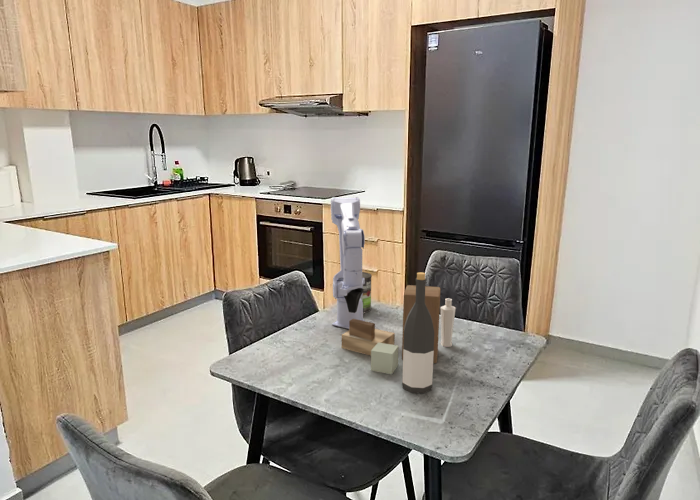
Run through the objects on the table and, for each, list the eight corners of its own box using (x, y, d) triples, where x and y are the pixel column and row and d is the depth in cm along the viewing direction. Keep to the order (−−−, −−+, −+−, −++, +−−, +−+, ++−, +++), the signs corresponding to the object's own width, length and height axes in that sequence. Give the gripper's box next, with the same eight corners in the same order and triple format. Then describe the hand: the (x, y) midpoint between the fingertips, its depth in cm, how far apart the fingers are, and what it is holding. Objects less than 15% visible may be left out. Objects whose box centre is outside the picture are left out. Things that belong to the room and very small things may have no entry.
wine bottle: (426, 396, 119) (431, 279, 113) (396, 389, 123) (399, 274, 117) (437, 383, 126) (442, 271, 120) (408, 376, 130) (411, 267, 124)
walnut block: (353, 334, 148) (353, 318, 147) (374, 339, 144) (374, 323, 143) (349, 336, 146) (349, 320, 145) (371, 341, 142) (371, 325, 141)
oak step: (358, 337, 156) (358, 324, 155) (394, 346, 150) (394, 332, 149) (341, 348, 148) (341, 334, 147) (378, 357, 141) (379, 343, 140)
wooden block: (436, 364, 137) (439, 296, 133) (401, 361, 139) (403, 294, 135) (437, 350, 147) (440, 286, 143) (404, 347, 149) (406, 284, 145)
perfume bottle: (453, 343, 152) (455, 297, 149) (454, 348, 148) (457, 301, 145) (438, 342, 153) (440, 296, 150) (439, 347, 148) (441, 301, 145)
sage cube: (377, 362, 139) (378, 342, 137) (398, 365, 137) (398, 345, 135) (370, 370, 133) (371, 350, 132) (391, 374, 131) (392, 353, 130)
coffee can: (376, 310, 183) (377, 274, 180) (360, 317, 175) (360, 280, 172) (354, 305, 189) (354, 269, 186) (338, 311, 181) (338, 275, 178)
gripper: (350, 262, 155) (350, 303, 158) (330, 273, 142) (330, 317, 145) (371, 265, 152) (370, 306, 155) (352, 275, 139) (352, 320, 142)
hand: (352, 311), depth 150 cm, fingers closed
